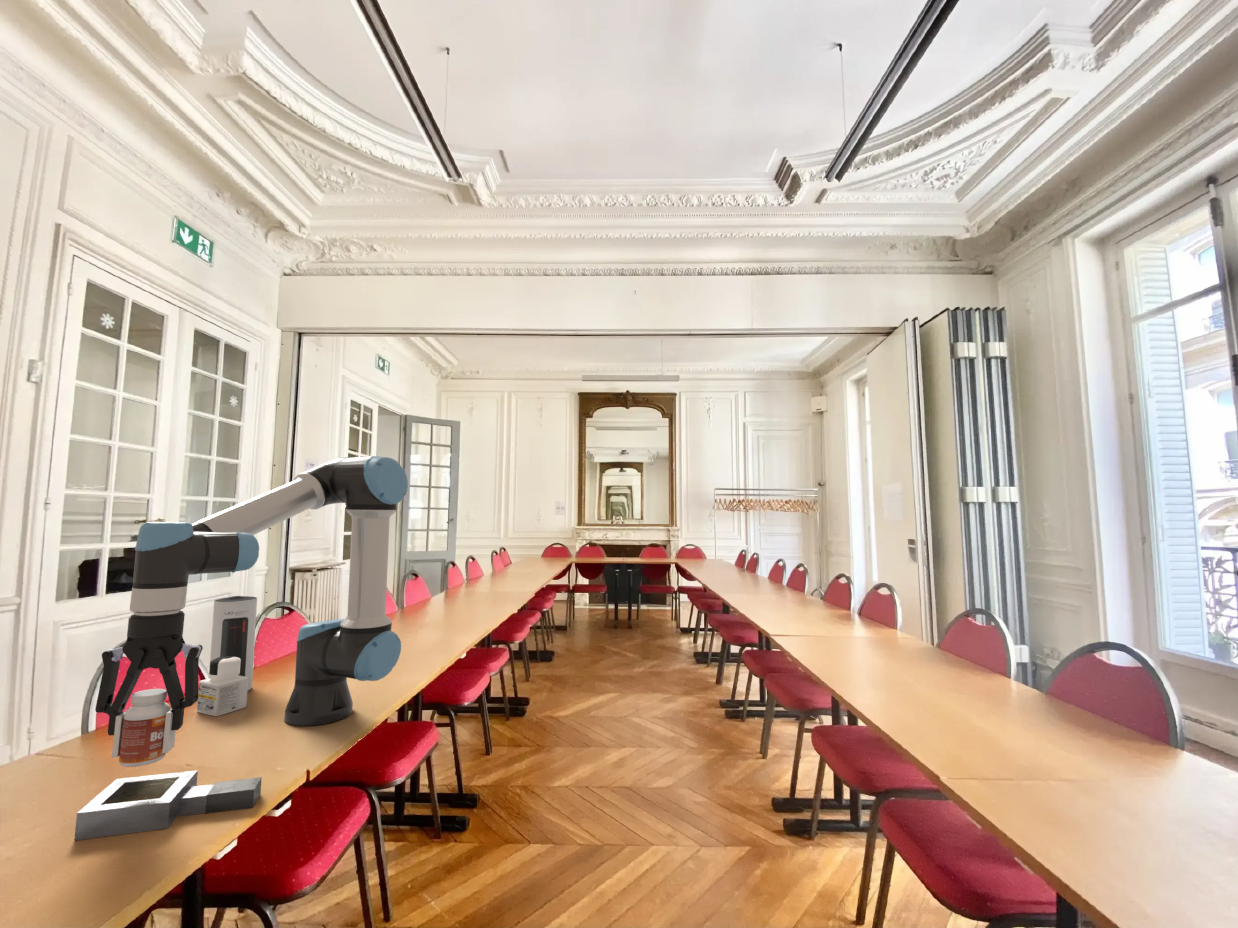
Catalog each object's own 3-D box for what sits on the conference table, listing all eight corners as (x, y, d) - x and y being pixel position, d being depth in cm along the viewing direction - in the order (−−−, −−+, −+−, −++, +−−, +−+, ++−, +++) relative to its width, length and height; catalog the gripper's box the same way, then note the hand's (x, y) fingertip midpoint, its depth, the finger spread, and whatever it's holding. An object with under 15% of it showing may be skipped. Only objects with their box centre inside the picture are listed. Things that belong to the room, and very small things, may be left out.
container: (196, 712, 144) (200, 659, 145) (226, 703, 151) (230, 652, 153) (216, 717, 141) (220, 662, 142) (246, 707, 148) (250, 656, 150)
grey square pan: (265, 785, 107) (267, 763, 107) (246, 818, 95) (248, 792, 96) (114, 803, 99) (116, 779, 100) (74, 840, 88) (76, 813, 88)
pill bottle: (153, 767, 94) (160, 696, 95) (109, 769, 92) (117, 698, 94) (173, 752, 100) (179, 686, 101) (132, 754, 99) (139, 687, 100)
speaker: (202, 698, 155) (209, 600, 157) (211, 687, 164) (219, 595, 166) (248, 694, 159) (255, 598, 161) (254, 684, 168) (261, 593, 171)
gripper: (229, 607, 105) (217, 738, 103) (100, 610, 99) (85, 749, 97) (215, 613, 98) (202, 754, 96) (75, 617, 92) (58, 767, 90)
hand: (143, 751), depth 96 cm, fingers closed on pill bottle, 6 cm apart
